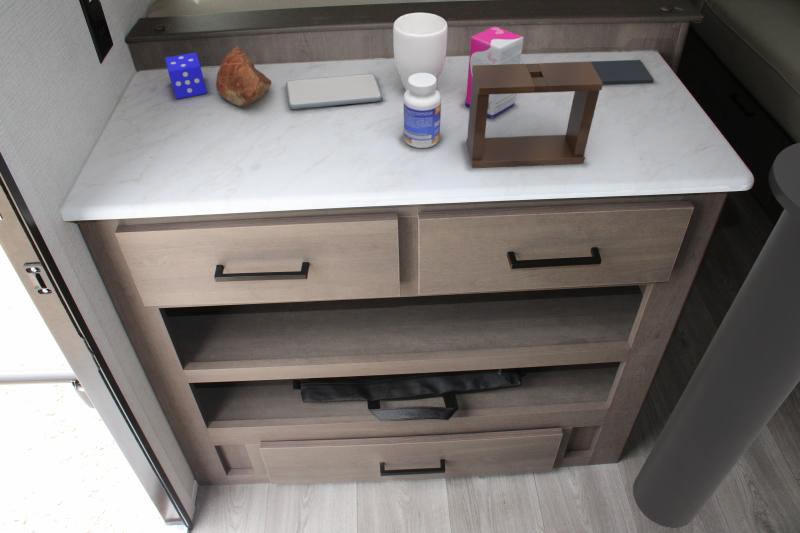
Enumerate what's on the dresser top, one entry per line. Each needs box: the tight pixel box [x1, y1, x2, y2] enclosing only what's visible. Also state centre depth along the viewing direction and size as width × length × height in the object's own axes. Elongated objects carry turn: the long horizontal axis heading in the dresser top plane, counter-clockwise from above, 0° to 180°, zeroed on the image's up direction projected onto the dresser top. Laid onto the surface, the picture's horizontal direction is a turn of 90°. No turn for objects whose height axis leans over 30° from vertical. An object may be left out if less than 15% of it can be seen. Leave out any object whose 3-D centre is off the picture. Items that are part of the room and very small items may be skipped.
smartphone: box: [285, 73, 383, 110], centre depth 103 cm, size 8×1×15 cm
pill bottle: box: [402, 73, 442, 149], centre depth 91 cm, size 5×5×10 cm
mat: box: [590, 59, 655, 85], centre depth 108 cm, size 16×7×1 cm, turn 93°
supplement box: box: [464, 25, 524, 119], centre depth 97 cm, size 6×6×11 cm
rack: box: [465, 61, 604, 169], centre depth 87 cm, size 16×6×12 cm, turn 93°
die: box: [164, 52, 208, 100], centre depth 103 cm, size 5×5×5 cm
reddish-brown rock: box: [215, 45, 272, 107], centre depth 101 cm, size 13×8×10 cm
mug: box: [392, 12, 448, 92], centre depth 102 cm, size 12×8×11 cm
